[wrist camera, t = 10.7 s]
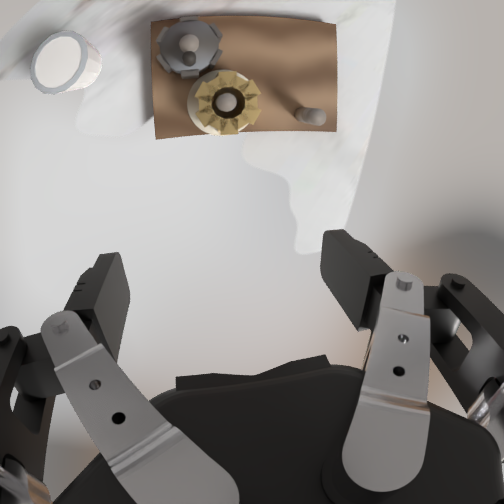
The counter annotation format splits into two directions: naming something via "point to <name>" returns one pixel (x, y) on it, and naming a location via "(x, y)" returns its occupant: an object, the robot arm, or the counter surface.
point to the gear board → (244, 72)
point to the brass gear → (247, 103)
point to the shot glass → (65, 63)
